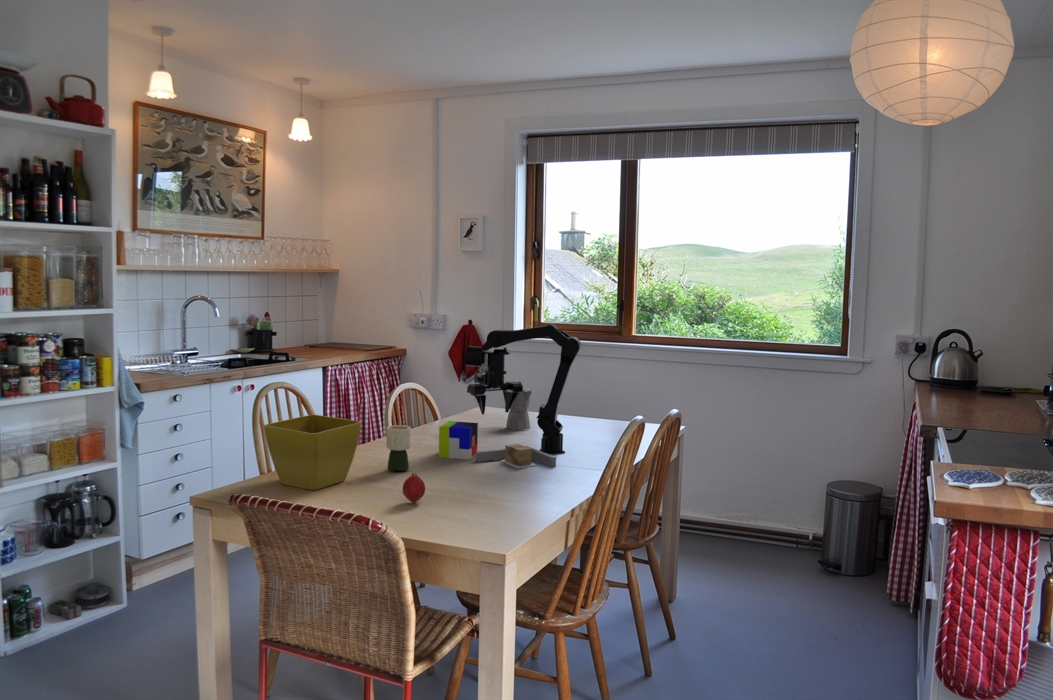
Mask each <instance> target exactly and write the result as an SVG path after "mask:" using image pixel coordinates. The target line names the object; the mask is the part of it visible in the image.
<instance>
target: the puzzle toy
mask: <svg viewBox="0 0 1053 700" xmlns="http://www.w3.org/2000/svg"><path fill="white" fill-rule="evenodd" d="M478 433H479V423H478V422H470V421H469V422H468V421H457V420H456V421H454V420H453V421H452V420H448V421H446V422H444V423H443V424H442V425H440V426H439V428H438V458H442V457H445V458H446V459H455V458H458V459H457V460H468V459H469V460H470V459H472V458H473V457H475V456H476V452H478V436H479V435H478ZM472 456H473V457H472ZM445 458H444V459H445Z"/></svg>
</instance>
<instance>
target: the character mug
mask: <svg viewBox="0 0 1053 700" xmlns="http://www.w3.org/2000/svg"><path fill="white" fill-rule="evenodd" d="M385 435H386V446H385V447H386V448H387V449H388V450H389V454H388V455H389V456H388V461H387V470H388V471H395V472H396V473H397V472H398V471H407V470H409V469H410V467H409V457H408V452H407V450H410V449H411V445H412V443H411V439H412V438H411V437H412V428H411V426H408V425H404V424H403V425H402V424H401V425H400V424H398V425H397V424H396V425H394V424H393V425H388V426H387V427H386V434H385Z"/></svg>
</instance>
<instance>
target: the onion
mask: <svg viewBox="0 0 1053 700" xmlns="http://www.w3.org/2000/svg"><path fill="white" fill-rule="evenodd" d="M425 493H426V484H425V482H424V481H423V479H422V478H421V477H420V476H419V475H417V473H416V472H412V473H411V475H410V476H409V477H408V478H406V480H404V482H403V485H402V495H404V497H405V498H406V499H407V500H408V501H410V503H412V504H415V503H417V502H418V501H419V500H421V499H422V498H423V497H424V495H425Z"/></svg>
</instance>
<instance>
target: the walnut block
mask: <svg viewBox="0 0 1053 700" xmlns="http://www.w3.org/2000/svg"><path fill="white" fill-rule="evenodd" d="M504 446H505V447H504V449H505V459H504V460H505V461H507V462H510V463H512V464H515V465H517V466H525V465H531V463H532V459H531V457H532V449H531V448H532V447H531V448H528V447H529V446H528V447H525V446H526V445H521V444H519V443H513V444H505V445H504Z"/></svg>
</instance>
